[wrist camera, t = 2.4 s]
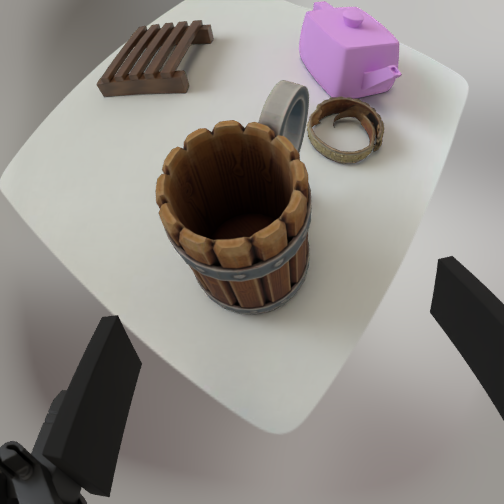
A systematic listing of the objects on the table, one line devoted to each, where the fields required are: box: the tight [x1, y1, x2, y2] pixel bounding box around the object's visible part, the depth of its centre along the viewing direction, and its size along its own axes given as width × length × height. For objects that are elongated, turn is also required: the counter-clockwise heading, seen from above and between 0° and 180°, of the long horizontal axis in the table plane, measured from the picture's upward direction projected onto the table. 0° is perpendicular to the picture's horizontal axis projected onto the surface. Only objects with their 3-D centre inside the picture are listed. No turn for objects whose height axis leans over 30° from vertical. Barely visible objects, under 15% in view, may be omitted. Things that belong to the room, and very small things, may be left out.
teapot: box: [299, 1, 402, 99], centre depth 33 cm, size 18×10×10 cm, turn 21°
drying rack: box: [96, 20, 214, 97], centre depth 40 cm, size 14×14×4 cm
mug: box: [156, 80, 311, 314], centre depth 24 cm, size 16×11×15 cm
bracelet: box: [307, 96, 384, 163], centre depth 33 cm, size 9×9×3 cm
